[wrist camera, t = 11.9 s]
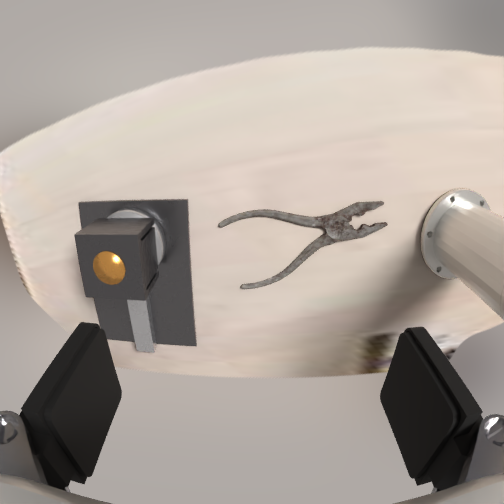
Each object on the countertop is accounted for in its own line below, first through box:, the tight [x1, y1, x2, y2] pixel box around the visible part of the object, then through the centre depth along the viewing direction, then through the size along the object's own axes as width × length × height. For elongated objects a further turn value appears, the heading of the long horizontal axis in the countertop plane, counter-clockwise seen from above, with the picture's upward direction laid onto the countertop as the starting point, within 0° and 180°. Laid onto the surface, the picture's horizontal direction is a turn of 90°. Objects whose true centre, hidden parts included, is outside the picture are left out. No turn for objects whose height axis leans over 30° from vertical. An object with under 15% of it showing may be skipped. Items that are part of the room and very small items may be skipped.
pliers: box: [219, 201, 387, 289], centre depth 37 cm, size 10×1×20 cm
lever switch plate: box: [79, 199, 197, 352], centre depth 37 cm, size 14×20×6 cm
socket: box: [75, 218, 159, 301], centre depth 33 cm, size 7×7×6 cm
